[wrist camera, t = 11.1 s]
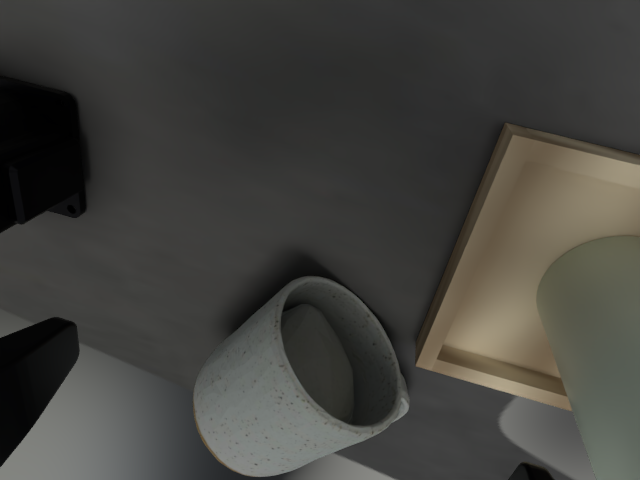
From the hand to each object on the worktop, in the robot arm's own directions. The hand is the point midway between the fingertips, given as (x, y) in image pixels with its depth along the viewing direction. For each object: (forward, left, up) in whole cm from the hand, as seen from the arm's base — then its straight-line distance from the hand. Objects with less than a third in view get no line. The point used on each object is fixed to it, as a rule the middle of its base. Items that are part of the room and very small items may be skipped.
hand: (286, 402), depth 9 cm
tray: (+12, -3, -13) cm, 18 cm away
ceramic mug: (+1, -10, -13) cm, 17 cm away
